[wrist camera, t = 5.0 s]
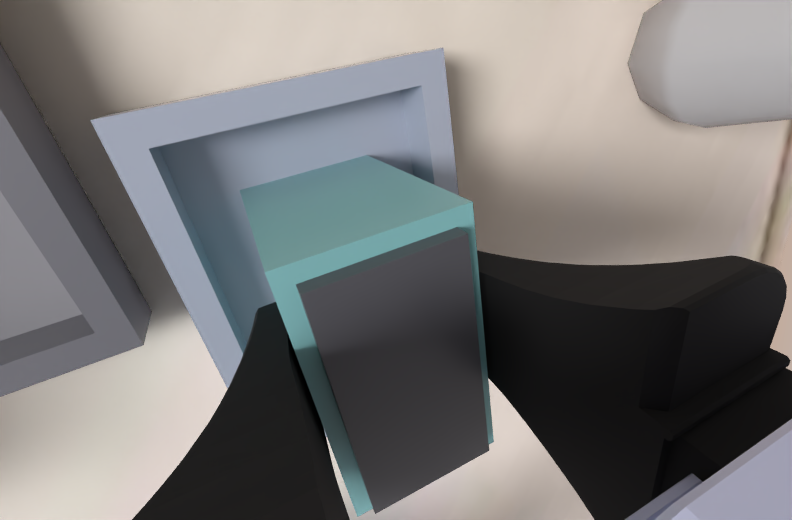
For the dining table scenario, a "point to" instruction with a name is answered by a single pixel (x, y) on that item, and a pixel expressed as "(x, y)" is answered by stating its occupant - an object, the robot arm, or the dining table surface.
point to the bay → (54, 258)
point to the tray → (266, 169)
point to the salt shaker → (716, 61)
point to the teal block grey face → (380, 319)
